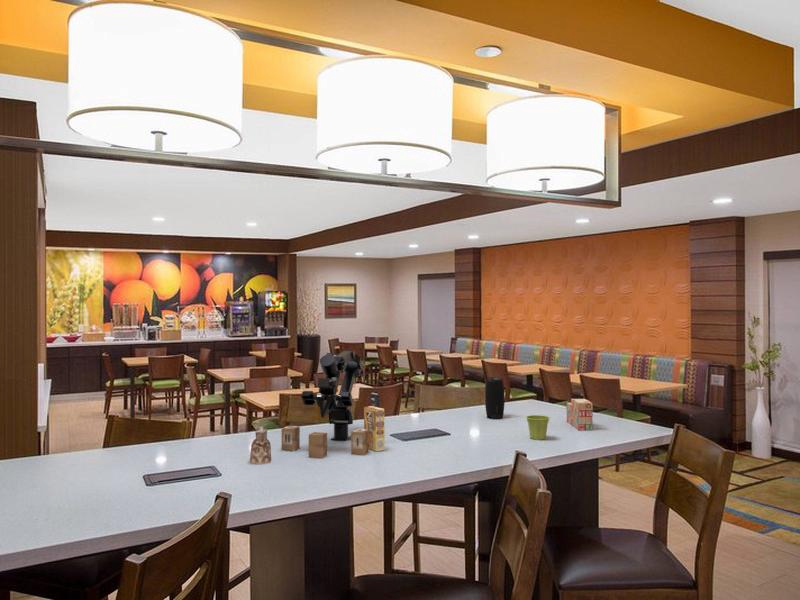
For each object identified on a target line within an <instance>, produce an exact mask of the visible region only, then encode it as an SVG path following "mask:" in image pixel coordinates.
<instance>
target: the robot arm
mask: <svg viewBox="0 0 800 600" xmlns="http://www.w3.org/2000/svg"><path fill="white" fill-rule="evenodd" d="M319 365H320V367H321V370H322V373H323V375H324V377H323V378H322V377H318V379H317V385H316V388H318V393H316V394H314V390H303V391H301V394H300V397H301V400H302V403H303V405H304V406H314V405H315V404H316V405H317V407H318V408H319V409H320V417H321V419H325V417H326V416H327V415H328V421H329V425H333V437H331V438H330V440H332V441H348V440H350V439H351V435H349V426H350V425H353V424H354V418H353V417H354V416H353V412H352V410H351V407H352V406H353V404H354V398H353V395H352V390H353V387H354V383H355V379H357V378H358V377H359V376H360V375H361V372H362V370H363V368H364V363H363V360H362V357H361V356H360V355H358V354H357V353H356V351H355V350H354V349H343V350H342V351H341V352H340V353H338V354H337V355H333V353H332V352H326V354H325V355H323V356H322V357H320V358H319ZM341 372H343V374H344V375H343V379H342V382H341V385H340V389H339V383H340V381H341V375H342V374H341ZM338 392H339V393H338ZM337 393H338V394H337Z"/></svg>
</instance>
